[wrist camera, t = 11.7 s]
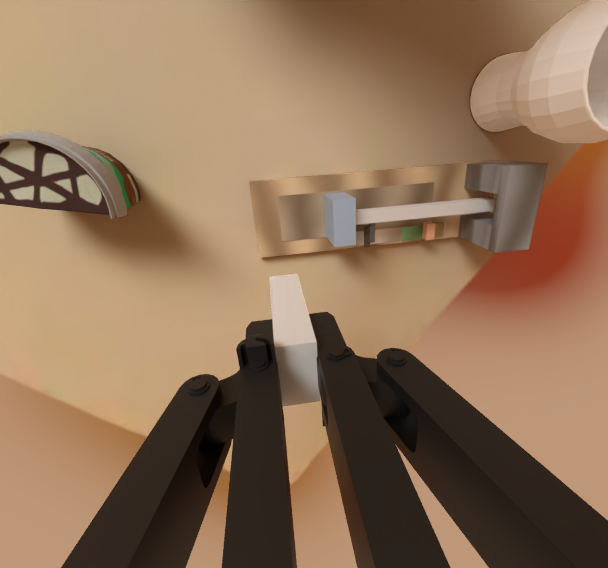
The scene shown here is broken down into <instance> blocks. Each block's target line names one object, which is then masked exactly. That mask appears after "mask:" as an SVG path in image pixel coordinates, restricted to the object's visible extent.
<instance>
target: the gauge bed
mask: <svg viewBox="0 0 608 568" xmlns="http://www.w3.org/2000/svg"><path fill="white" fill-rule="evenodd" d="M547 164H548V163H532V162H511V161H483V162H471V163H460V164H448V165H436V166H424V167H413V168H401V169H389V170H377V171H365V172H354V173H342V174H330V175H318V176H307V177H295V178H283V179H271V180H260V181H250V182H249V183H250V191H251V198H252V206H253V213H254V221H255V228H256V236H257V243H258V251H259V258H263V257H272V256H281V255H291V254H300V253H310V252H319V251H328V250H338V249H347V248H357V247H364V226H365V225H369V223H368V224H358V225H356V245H352V246H342V247H334V246H333V245H332V244H331V242H330V241H329V240H328V238H327V237H326V231H325V209H324V194H331V193H342V192H344V193H346V194H348V195H350V196H352V197H354V198H356V210H358V209H368V208H379V207H389V206H400V205H410V204H421V203H431V202H441V201H452V200H462V199H473V198H483V197H490V198H492V197H493V193H495V194H497V199H496V205H495V211H494V213H490V211H488V212H478V213H468V214H458V215H448V216H438V217H428V218H418V219H408V220H398V221H388V222H378V223H375V242H373V243H370V246H375V245H385V244H394V243H404V242H413V241H422V240H425V239H423V238H422V231H423V222H433V223H436V224H435V235H434V239H441V238H451V237H460V238H462V239H464V240H467V241H469V242H471V243H473V244H476V245H478V246H480V247H483V248H485V249H487V250H489V251H492V252H494V253H500V252H508V251H517V250H527V249H529V246H530V241H531V236H532V232H533V227H534V222H535V218H536V213H537V209H538V205H539V200H540V196H541V191H542V187H543V182H544V177H545V173H546V168H547Z"/></svg>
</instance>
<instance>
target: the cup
mask: <svg viewBox="0 0 608 568" xmlns="http://www.w3.org/2000/svg"><path fill="white" fill-rule="evenodd" d="M470 106H471V112H472V115H473V118H474V120H475V121H476V123H477V124H478V125H479V126H480V127H481V128H482V129H484V130H487V131H489V132H500V131H504V130H508V129H511V128H515V127H518V126H526V127H527V128H529V129H530V130H531V131H532V132H533V133H535V134H538V135H540V136H543V137H545V138H548V139H550V140H553V141H556V142H558V143H596V142H600V141H604V140H607V139H608V0H587V1H586V2H584V3H582V4H581V5H579V6H577V7H576V8H574V9H572V10H571V11H570V12H568V13H567V14H566V15H565V16H564V17H562V18H561V19H560V20H559V21H558V22H556V23H555V24H554V25H553V26H552V27H551V28H549V29H548V30H547V31H546V32H545V33H544V34H543V35H542V36H541V37H540V38H539V39H538V40H537V41H536V43H535V44H534V45H533V47H532V48H531V49H529V50H528V51H524V52H515V53H510V54H506V55H502V56H499V57H497V58H495V59H493V60H492V61H490V62H489V63H488V64H487V65H486V66H485V67H484V68H483V69H482V70H481V72H480V73H479V75H478V76H477V78H476V80H475V83H474V85H473V88H472V92H471V98H470Z"/></svg>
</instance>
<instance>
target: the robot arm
mask: <svg viewBox="0 0 608 568" xmlns="http://www.w3.org/2000/svg"><path fill="white" fill-rule="evenodd" d="M270 291H271V306H272V319H271V320H262V321H254V322H251V323H250V324H249V326H248V327H247V328H246V339H245V340H243V341H242V342H240V343H239V344H238V346H237V348H236V350H237V355H238V361H239V366H240V370H239V371H238V372H237V373H236V374H234V375H232V376H230V377H228V378H226V379H223V380H220V381H218V378H216V377H215V376H213V375H209V374H204V375H198V376H195V377H192V378H190V379H189V380H187V381H186V382H185V383H184V384H183V385H182V386H181V387H180V388H179V390H178V391H177V393H176V394H175V396H174V397H173V399H172V400H171V402H170V403H169V405H168V407H167V408H166V410H165V411H164V413H163V414H162V416H161V417H160V419H159V420H158V422H157V423H156V425H155V426H154V428H153V429H152V431H151V432H150V434H149V435H148V437H147V438H146V440H145V441H144V443H143V444H142V446H141V447H140V449H139V451H138V452H137V454H136V455H135V457H134V458H133V460H132V461H131V463H130V464H129V466H128V467H127V469H126V470H125V472H124V473H123V475H122V476H121V478H120V479H119V481H118V482H117V484H116V485H115V487H114V488H113V490H112V491H111V493H110V494H109V496H108V498H107V499H106V501H105V502H104V504H103V505H102V507H101V508H100V510H99V511H98V513H97V514H96V516H95V517H94V519H93V520H92V522H91V523H90V525H89V526H88V528H87V529H86V531H85V532H84V534H83V535H82V537H81V538H80V540H79V542H78V543H77V544H76V546H75V547H74V549H73V550H72V552H71V554H70V555H69V557H68V558H67V560H66V561H65V563H64V564H63V566H62V567H61V568H186V565H187V562H188V559H189V557H190V554H191V551H192V549H193V546H194V543H195V540H196V538H197V535H198V532H199V529H200V527H201V524H202V521H203V519H204V516H205V513H206V511H207V508H208V505H209V502H210V500H211V497H212V494H213V492H214V489H215V486H216V484H217V481H218V478H219V475H220V473H221V470H222V467H223V465H224V462H225V459H226V457H227V454H228V451H229V448H230V446H231V441H232V439H233V438H234V439H233V450H232V461H231V472H230V483H229V494H228V505H227V517H226V528H225V538H224V549H223V560H222V561H223V562H222V568H297V565H296V552H295V540H294V529H293V518H292V507H291V495H290V483H289V472H288V460H287V449H286V437H285V426H284V415H283V408H282V406H288V405H295V404H302V403H309V402H316V401H320V396H321V401H322V418H323V426H326V431H327V435H328V440H329V444H330V448H331V453H332V457H333V462H334V466H335V470H336V475H337V479H338V484H339V488H340V492H341V497H342V501H343V506H344V510H345V514H346V519H347V523H348V527H349V532H350V536H351V541H352V545H353V550H354V554H355V559H356V563H357V567H358V568H450V566H449V564H448V561H447V559H446V557H445V555H444V552H443V550H442V548H441V546H440V543H439V541H438V539H437V537H436V534H435V532H434V530H433V528H432V526H431V523H430V521H429V519H428V516H427V515H426V512H425V510H424V508H423V506H422V503H421V501H420V499H419V497H418V494H417V492H416V490H415V488H414V485H413V483H412V481H411V478H410V476H409V474H408V472H407V470H406V467H405V465H404V463H403V461H402V458H401V456H400V454H399V452H398V449H397V447H398V448H399V449H400V450H401V452H402V453H403V455H404V456H405V457H406V459H407V460H408V461H409V463H410V464H411V465H412V467H413V468H414V469H415V470H416V472H417V473H418V474H419V476H420V477H421V478H422V480H423V481H424V482H425V484H426V485H427V486H428V487H429V489H430V490H431V492H432V493H433V494H434V496H435V497H436V498H437V500H438V501H439V502H440V503H441V505H442V506H443V507H444V509H445V510H446V511H447V513H448V514H449V515H450V517H451V518H452V519H453V521H454V522H455V523H456V525H457V526H458V527H459V529H460V530H461V531H462V533H463V534H464V535H465V536H466V538H467V539H468V540H469V542H470V543H471V544H472V546H473V547H474V548H475V549H476V551H477V552H478V553H479V555H480V556H481V558H482V559H483V560H484V562H485V563H486V564H487V566H488V567H489V568H608V521H607V520H606V519H605V518H604V517H603V516H602V515H600V514H599V513H598V512H597V511H596V510H594V509H593V508H592V507H591V506H590V505H588V504H587V503H586V502H585V501H584V500H583V499H582V498H580V497H579V496H578V495H577V494H576V493H574V492H573V491H572V490H571V489H570V488H569V487H567V486H566V485H565V484H564V483H563V482H561V481H560V480H559V479H558V478H557V477H556V476H554V475H553V474H552V473H551V472H550V471H549V470H547V469H546V468H545V467H544V466H543V465H542V464H540V463H539V462H538V461H537V460H535V458H533V457H532V456H531V455H530V454H529V453H527V452H526V451H525V450H524V449H523V448H521V447H520V446H519V445H518V444H517V443H516V442H515V441H513V440H512V439H511V438H510V437H509V436H507V435H506V434H505V433H504V432H503V431H502V430H500V429H499V428H498V427H497V426H496V425H494V424H493V423H492V422H491V421H490V420H489V419H487V418H486V417H485V416H484V415H483V414H482V413H480V412H479V411H478V410H477V409H476V408H474V407H473V406H472V405H471V404H470V403H469V402H467V401H466V400H465V399H464V398H463V397H462V396H460V395H459V394H458V393H457V392H455V390H453V389H452V388H451V387H450V386H449V385H447V384H446V383H445V382H444V381H443V380H441V379H440V378H439V377H438V376H437V375H436V374H435V373H433V372H432V371H431V370H430V369H429V368H427V367H426V366H425V365H424V364H423V363H422V362H420V361H419V360H418V359H417V358H416V357H415V356H413V355H412V354H411V353H409V352H407V351H405V350H402V349H398V348H389V349H384V350H382V351H380V352H379V354H378V355H377V359H374V358H364V357H360V356H357V355H355V353H354V352H353V350H352V349H351V348H349V347H347V346H346V344H345V341H344V339H343V337H342V334H341V332H340V330H339V327H338V325H337V323H336V320H335V318H334V316H332V315H331V314H330V313H328V312H321V313H313V314H309V313H308V310H307V306H306V303H305V299H304V296H303V292H302V289H301V285H300V282H299V278H298V275H297V274H290V275H280V276H271V277H270ZM395 444H396V445H397V447H396V445H395Z"/></svg>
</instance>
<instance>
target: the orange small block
mask: <svg viewBox="0 0 608 568" xmlns="http://www.w3.org/2000/svg"><path fill="white" fill-rule="evenodd" d="M435 224H436V223H433V222H423V231H422V238H423V239H425V240H433V239H434V235H435Z"/></svg>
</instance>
